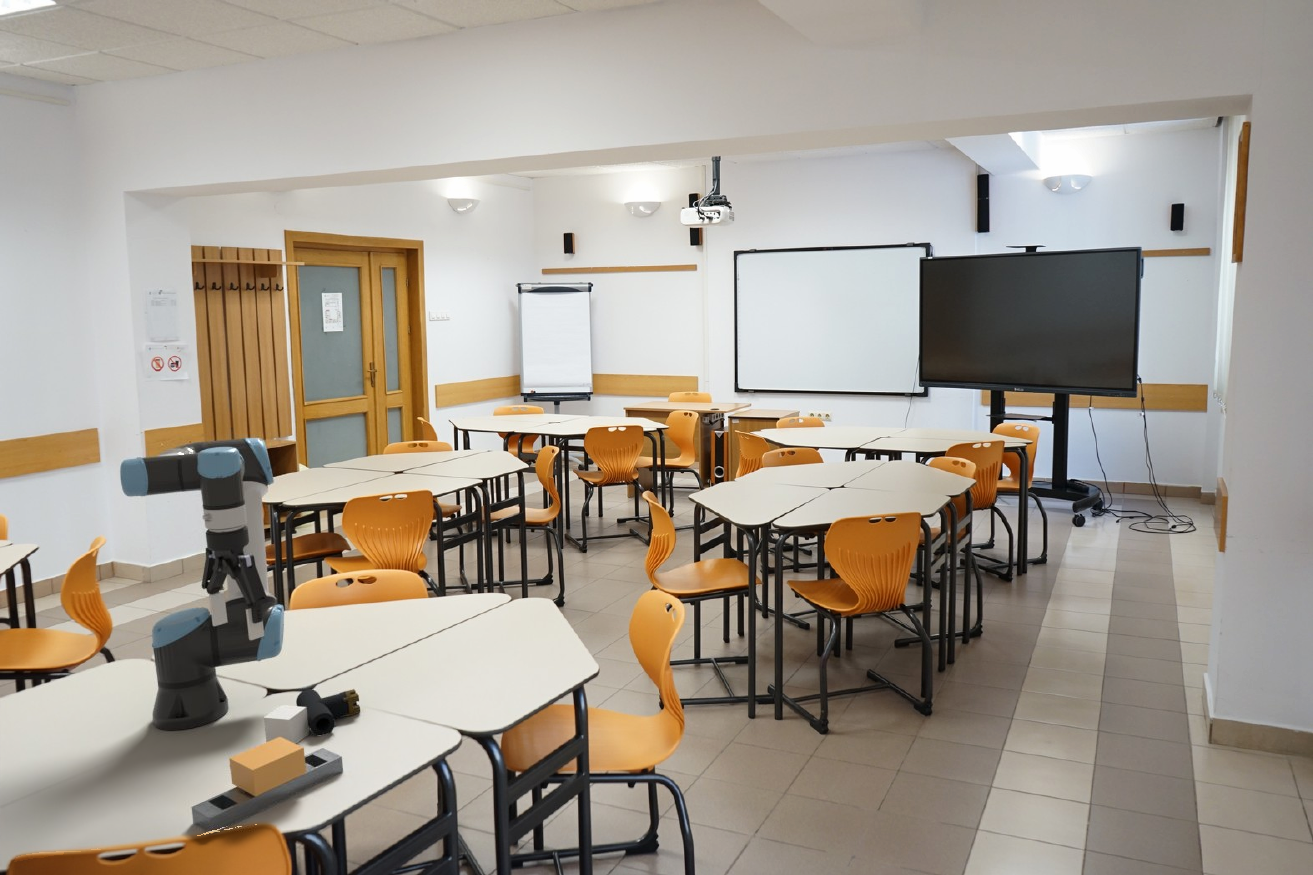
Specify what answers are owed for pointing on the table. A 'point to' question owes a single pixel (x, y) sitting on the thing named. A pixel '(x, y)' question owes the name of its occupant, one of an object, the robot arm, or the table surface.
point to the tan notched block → (267, 766)
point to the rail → (263, 794)
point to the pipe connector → (327, 709)
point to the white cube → (287, 723)
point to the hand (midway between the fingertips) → (238, 630)
